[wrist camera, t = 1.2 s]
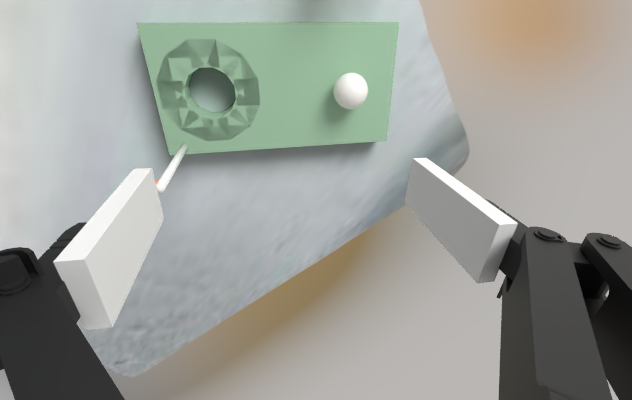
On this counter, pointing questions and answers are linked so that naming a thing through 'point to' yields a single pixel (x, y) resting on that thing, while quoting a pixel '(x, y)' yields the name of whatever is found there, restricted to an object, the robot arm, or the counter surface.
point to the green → (269, 84)
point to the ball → (350, 90)
